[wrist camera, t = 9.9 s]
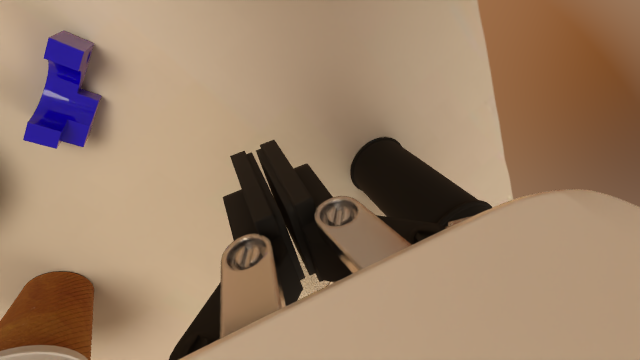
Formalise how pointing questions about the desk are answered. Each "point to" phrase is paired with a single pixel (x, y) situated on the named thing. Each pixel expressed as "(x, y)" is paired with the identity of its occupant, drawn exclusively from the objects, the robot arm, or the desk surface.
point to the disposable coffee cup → (49, 320)
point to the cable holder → (64, 95)
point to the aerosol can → (410, 185)
